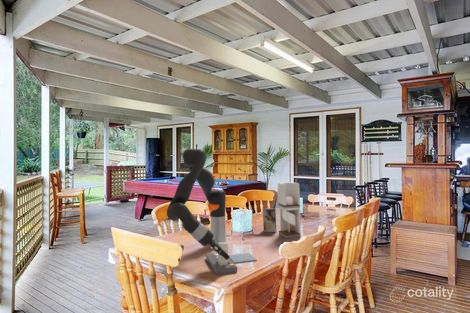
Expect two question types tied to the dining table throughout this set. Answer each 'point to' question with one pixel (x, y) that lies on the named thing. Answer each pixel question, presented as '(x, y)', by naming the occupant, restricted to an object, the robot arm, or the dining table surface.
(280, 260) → the dining table surface
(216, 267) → the power strip
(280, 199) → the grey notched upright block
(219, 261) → the white tall rectangular block
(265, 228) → the coffee box
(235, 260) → the mat
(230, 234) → the dining table surface
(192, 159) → the robot arm
